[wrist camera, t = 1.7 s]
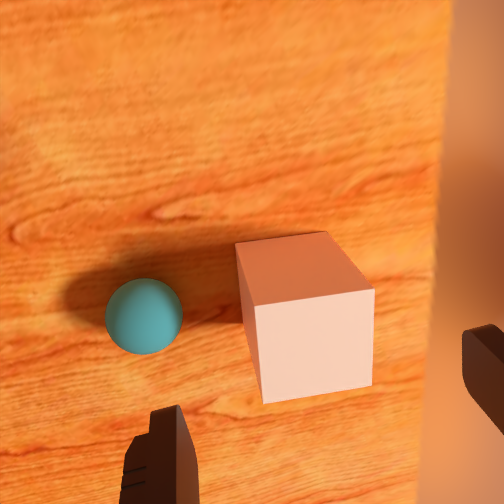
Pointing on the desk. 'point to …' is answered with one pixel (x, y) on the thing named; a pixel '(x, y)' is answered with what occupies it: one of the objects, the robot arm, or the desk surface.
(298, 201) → the desk surface
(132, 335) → the ball
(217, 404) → the desk surface
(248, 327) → the upright white pillar block
